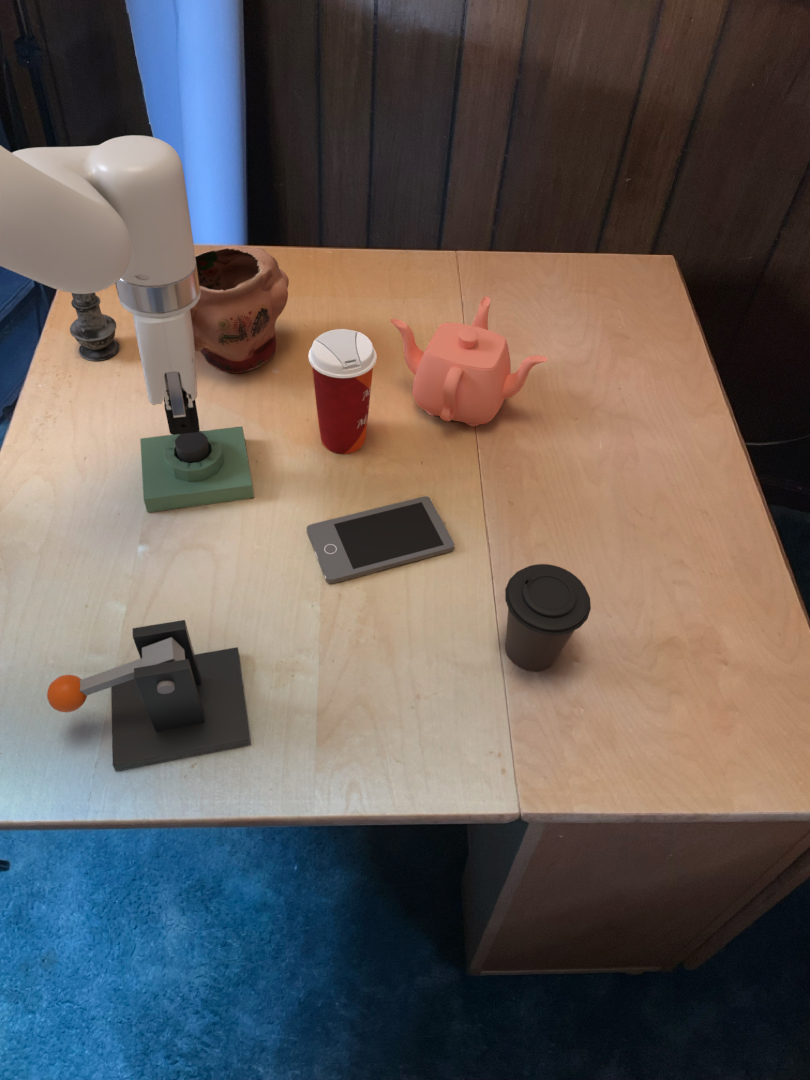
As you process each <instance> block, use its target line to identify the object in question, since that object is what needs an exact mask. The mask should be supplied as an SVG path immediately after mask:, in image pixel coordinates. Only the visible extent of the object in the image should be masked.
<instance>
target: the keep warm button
mask: <svg viewBox="0 0 810 1080" xmlns="http://www.w3.org/2000/svg"><path fill="white" fill-rule="evenodd" d="M199 431H200V430H199ZM199 431H198V432H194V433H185V434H180V435H179V436H178V437H177V438H176V440H175V446H176V451H177V455H178V457H179V459H180V460H182V461H183V462H186V463H197V462H200V461H202V460H204V459H205V458H206V457H207V456H208V454H209V446H208V440H207V437H206V436H205V435H204V434H203V433H201V432H199Z"/></svg>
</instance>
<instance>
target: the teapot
mask: <svg viewBox="0 0 810 1080" xmlns="http://www.w3.org/2000/svg"><path fill="white" fill-rule="evenodd" d="M490 307H491V298H490V296H484V297H483V298H482V299H481V300H480V303H479V305H478V309H477V311H476V314H475V316H474V319H473V321H472V323H471V324H466V323H459V322H448V321H447V322H443V323H441V324H440V325H439V326H438V327H437V329H436V330H435V332H434V333H433V334H432V337H431V338H430V340H429V342H428V344H427V346H426V348H425V350H424V351H423V350H422V349H420V347H419V346H418V345H417V343H416V339H415V334H414V331H413V329H412V328H411V327H410V325H409V324H407V323H406V322H404V321H402V320H400V319H397V318H391V319H390V321H389V322H390V323H391V324H392V325H393V326H394V327H395V328H396V329H397V330H398V331H399V333H400V334H401V338H402V343H403V355H404V362H405V364H406V366H407V368H408V369H409V371H410V372H411V373H412V374H413V375H414V379H413V383H412V397H413V399H414V401H415V403H416V404H417V406H418V407H419V408H421V409H422V410H424V411H425V412H426V414H428V415H429V416H433V417H437V416H438V417H440V419H441V420H442V421H444V422H450V421H455V422H461V423H465V424H466V425H468V426H470V427H478V426H480V425H484V424H488V423H489V422H491V421H492V420H493V419H494V418H495V416H496V415H497V414H498V412H499V411H500V409H501V407H502V406H503V404H504V401H505V399H507V398H511V397H513V396H515V395H516V394H518V392H520V391H521V389H522V388H523V387H524V384H525V383H526V380H527V378H528V375H529V373H530V371H531V370H532V369H533V367H535V366H536V365H538V364H541V363H545V362H547V361H548V360H549V358H548V357H546V356H543V355H531V356H530V355H529V356H527V357H525V358H524V359H523V360H522V361H521V363H520V365H519V367H518V369H517V371H516V372H513V373H512V371H511V370H512V366H511V365H512V364H511V355H510V349H509V345H508V341H507V339H506V338H505V337H504V336H503V335H501V334H499V333H497V332H494V331H492V330H489V310H490Z"/></svg>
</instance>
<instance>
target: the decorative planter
mask: <svg viewBox="0 0 810 1080" xmlns="http://www.w3.org/2000/svg"><path fill="white" fill-rule="evenodd" d="M195 258H196V264H197V271H198V278H199V285H200V292H201V295H200V299H199V301H198V303H197V304H196V305H195V306H194V307H193V308H191V309H190V313H191V320H192V327H193V335H194V345H195V352H200V353H201V354H202V356H203V357H204V359H205V361H206V363H208V364H209V365H211V366H212V367H214V368H216V369H217V370H218V371H222V372H225V373H230V374H231V373H232V374H239V373H245V372H248V371H251V370H254V369H257V368H259V367H260V366H262V365H263V364H265V363H266V362H268V361H269V360H271V359H272V358H273V357H274V356H275V354H276V350H277V335H276V323H277V322H276V321H277V320H278V318H279V317H280V316H281V314H282V313H283V311H284V309H285V307H286V306H287V302H288V298H289V291H288V289H289V284H290V280H289V276H288V275H287V273H286V272H285V271H284V270H283V269H282V268H280V266H279V263H278V261H277V260H276V258H275V257H274V256H273V255H271V254H269V253H268V252H267V251H266V250H265V249H263V248H260V247H246V246H239V245H227V246H222V247H218V248H215V249H214V248H213V249H210V250H205V251H202V252H200V253H198V254H195Z"/></svg>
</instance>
